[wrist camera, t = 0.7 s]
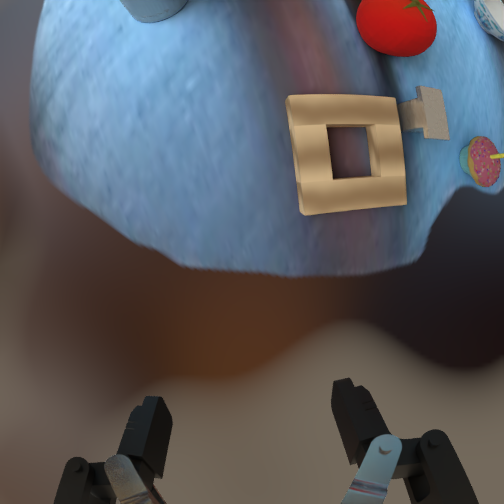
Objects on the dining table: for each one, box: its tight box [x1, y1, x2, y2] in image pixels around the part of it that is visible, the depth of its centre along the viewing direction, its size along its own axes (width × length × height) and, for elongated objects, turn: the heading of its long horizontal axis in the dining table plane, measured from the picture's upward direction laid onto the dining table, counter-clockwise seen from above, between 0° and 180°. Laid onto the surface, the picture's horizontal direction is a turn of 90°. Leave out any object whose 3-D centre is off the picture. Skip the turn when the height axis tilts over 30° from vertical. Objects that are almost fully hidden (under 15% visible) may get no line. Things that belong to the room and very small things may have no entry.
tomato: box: [356, 0, 437, 57], centre depth 21 cm, size 11×11×13 cm
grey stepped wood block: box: [397, 86, 450, 140], centre depth 28 cm, size 7×4×8 cm, turn 8°
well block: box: [285, 94, 407, 215], centre depth 32 cm, size 15×15×3 cm
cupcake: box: [459, 136, 504, 187], centre depth 28 cm, size 9×8×12 cm
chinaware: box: [474, 0, 504, 42], centre depth 19 cm, size 15×15×8 cm
